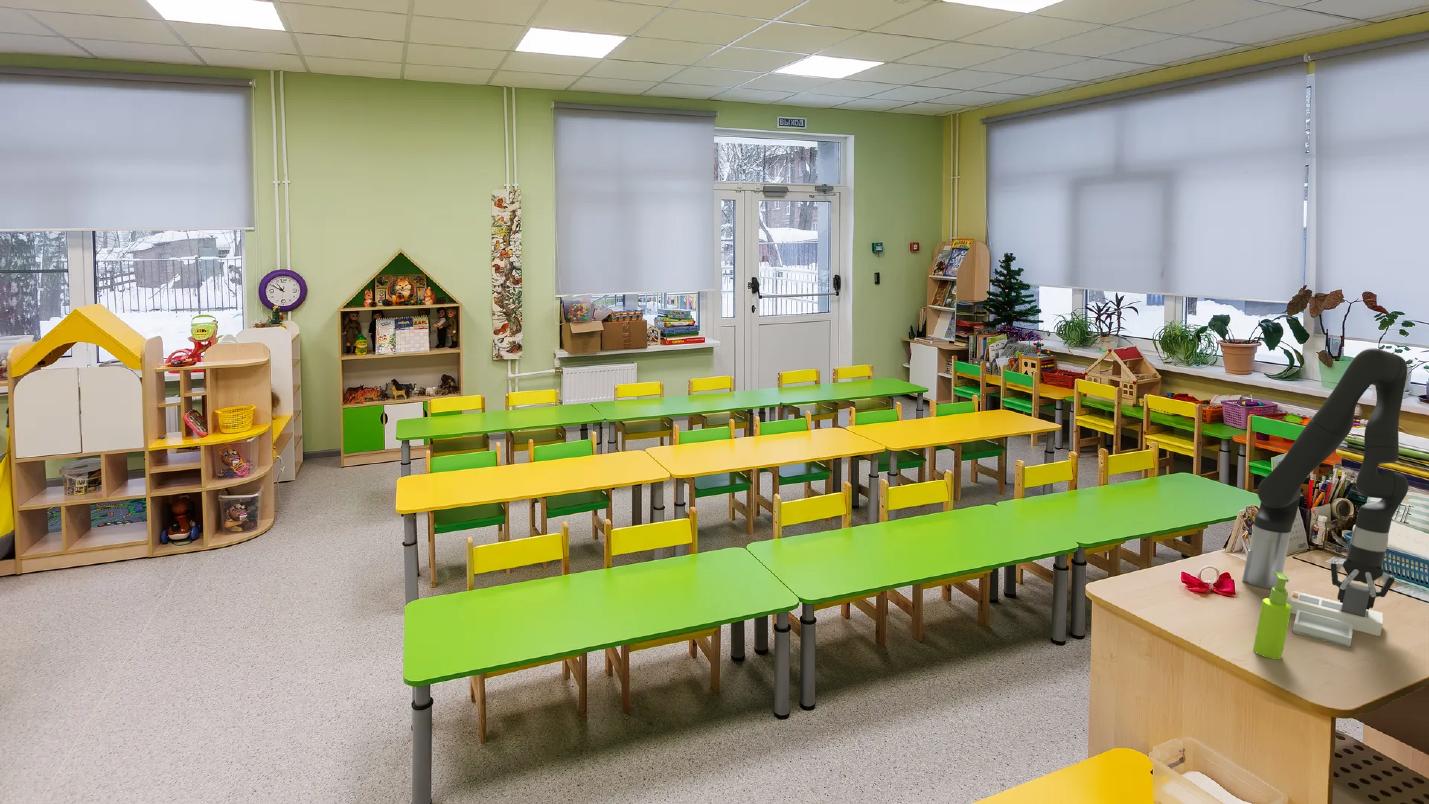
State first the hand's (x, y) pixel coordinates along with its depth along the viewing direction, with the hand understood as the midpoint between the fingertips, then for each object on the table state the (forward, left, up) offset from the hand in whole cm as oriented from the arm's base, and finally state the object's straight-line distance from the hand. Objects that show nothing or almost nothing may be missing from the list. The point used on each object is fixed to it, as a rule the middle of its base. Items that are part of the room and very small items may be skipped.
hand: (1354, 605), depth 225 cm
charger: (0, 0, -2) cm, 2 cm away
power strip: (-4, 0, -5) cm, 6 cm away
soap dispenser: (-16, -37, -5) cm, 40 cm away
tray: (-6, -13, -5) cm, 15 cm away
